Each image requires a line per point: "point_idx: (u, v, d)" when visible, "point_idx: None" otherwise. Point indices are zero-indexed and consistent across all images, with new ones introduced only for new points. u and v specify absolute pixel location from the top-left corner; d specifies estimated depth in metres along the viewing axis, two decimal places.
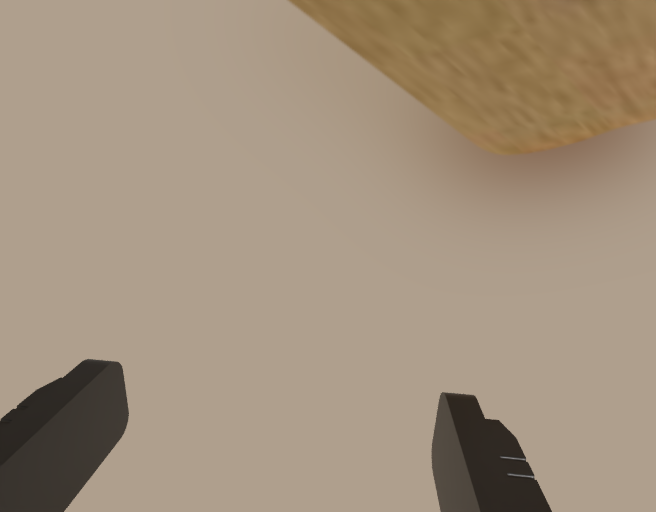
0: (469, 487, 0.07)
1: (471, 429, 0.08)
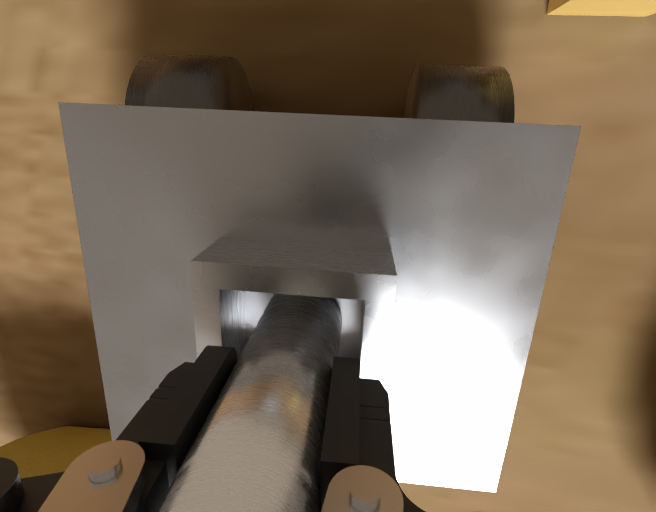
0: (325, 426, 0.08)
1: (344, 383, 0.09)
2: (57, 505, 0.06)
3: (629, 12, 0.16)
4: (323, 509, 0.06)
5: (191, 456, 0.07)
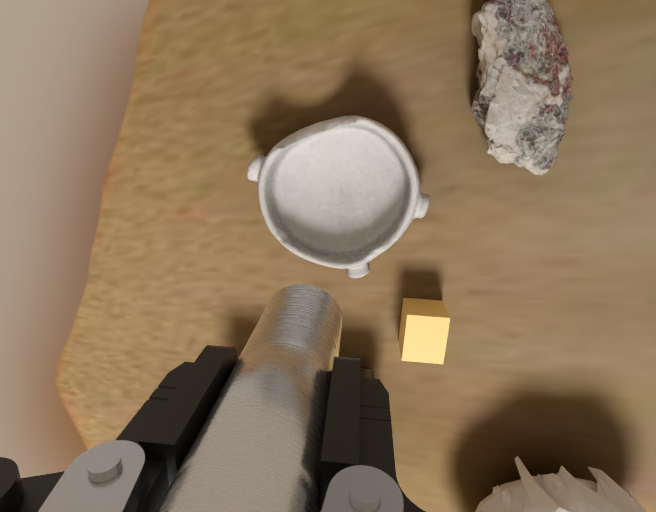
0: (325, 426, 0.08)
1: (344, 383, 0.09)
2: (57, 505, 0.06)
3: None
4: (323, 509, 0.06)
5: (191, 456, 0.07)
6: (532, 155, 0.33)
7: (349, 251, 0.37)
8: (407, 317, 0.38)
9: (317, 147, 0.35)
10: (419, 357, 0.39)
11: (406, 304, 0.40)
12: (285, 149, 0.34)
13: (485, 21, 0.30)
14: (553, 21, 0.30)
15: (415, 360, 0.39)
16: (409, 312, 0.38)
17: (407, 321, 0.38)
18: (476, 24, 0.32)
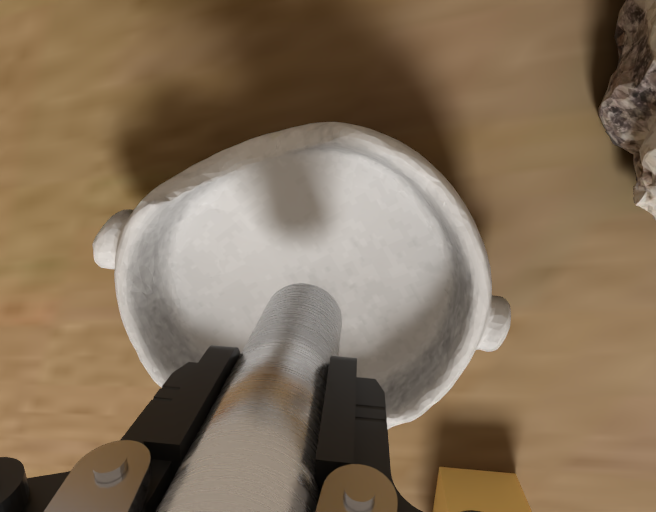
0: None
1: (340, 382, 0.09)
2: (63, 505, 0.06)
3: None
4: (317, 508, 0.06)
5: (190, 455, 0.07)
6: None
7: None
8: None
9: (254, 193, 0.16)
10: None
11: (448, 493, 0.20)
12: (174, 202, 0.14)
13: None
14: None
15: None
16: None
17: None
18: None
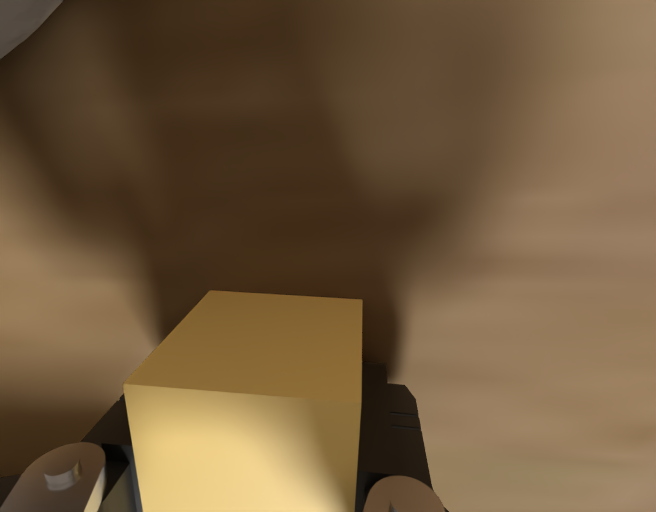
0: None
1: (371, 390, 0.09)
2: (14, 511, 0.06)
3: None
4: None
5: None
6: None
7: None
8: (131, 397, 0.07)
9: None
10: None
11: (188, 321, 0.09)
12: None
13: None
14: None
15: None
16: (160, 364, 0.07)
17: (134, 418, 0.07)
18: None
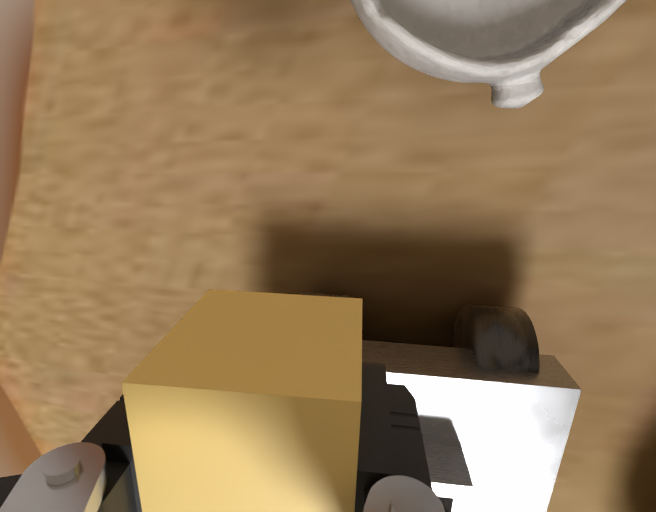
0: None
1: (371, 389, 0.09)
2: (14, 511, 0.06)
3: None
4: None
5: None
6: None
7: (502, 55, 0.19)
8: (130, 396, 0.07)
9: None
10: None
11: (188, 320, 0.09)
12: None
13: None
14: None
15: None
16: (158, 362, 0.07)
17: (133, 417, 0.07)
18: None
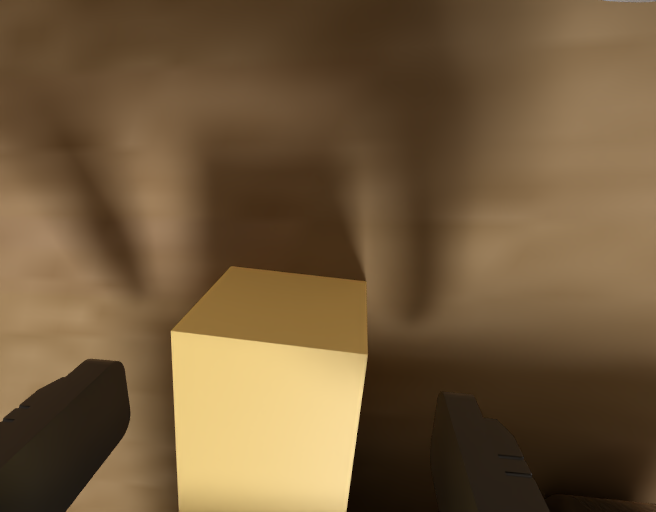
0: (466, 486, 0.07)
1: (469, 428, 0.08)
2: None
3: None
4: None
5: None
6: None
7: None
8: (176, 343, 0.08)
9: None
10: (246, 506, 0.09)
11: (217, 287, 0.10)
12: None
13: None
14: None
15: None
16: (198, 318, 0.09)
17: (177, 361, 0.08)
18: None
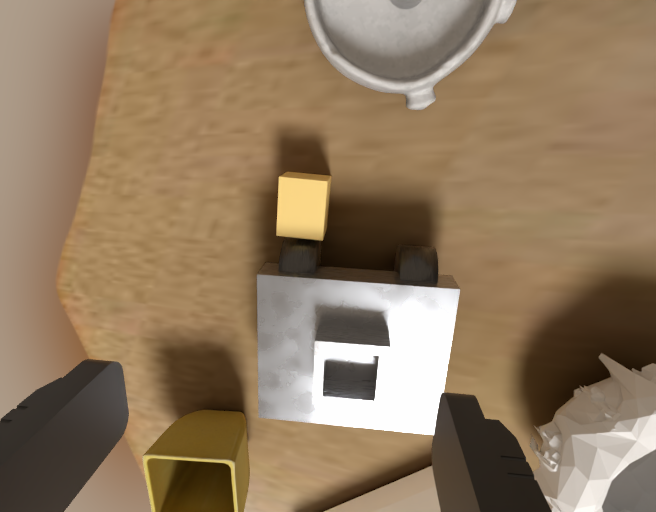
0: (469, 487, 0.07)
1: (470, 429, 0.08)
2: None
3: None
4: None
5: None
6: None
7: (411, 76, 0.31)
8: (279, 180, 0.33)
9: None
10: (295, 231, 0.34)
11: (286, 173, 0.35)
12: None
13: None
14: None
15: (291, 235, 0.34)
16: (284, 176, 0.33)
17: (279, 185, 0.33)
18: None
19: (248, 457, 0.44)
